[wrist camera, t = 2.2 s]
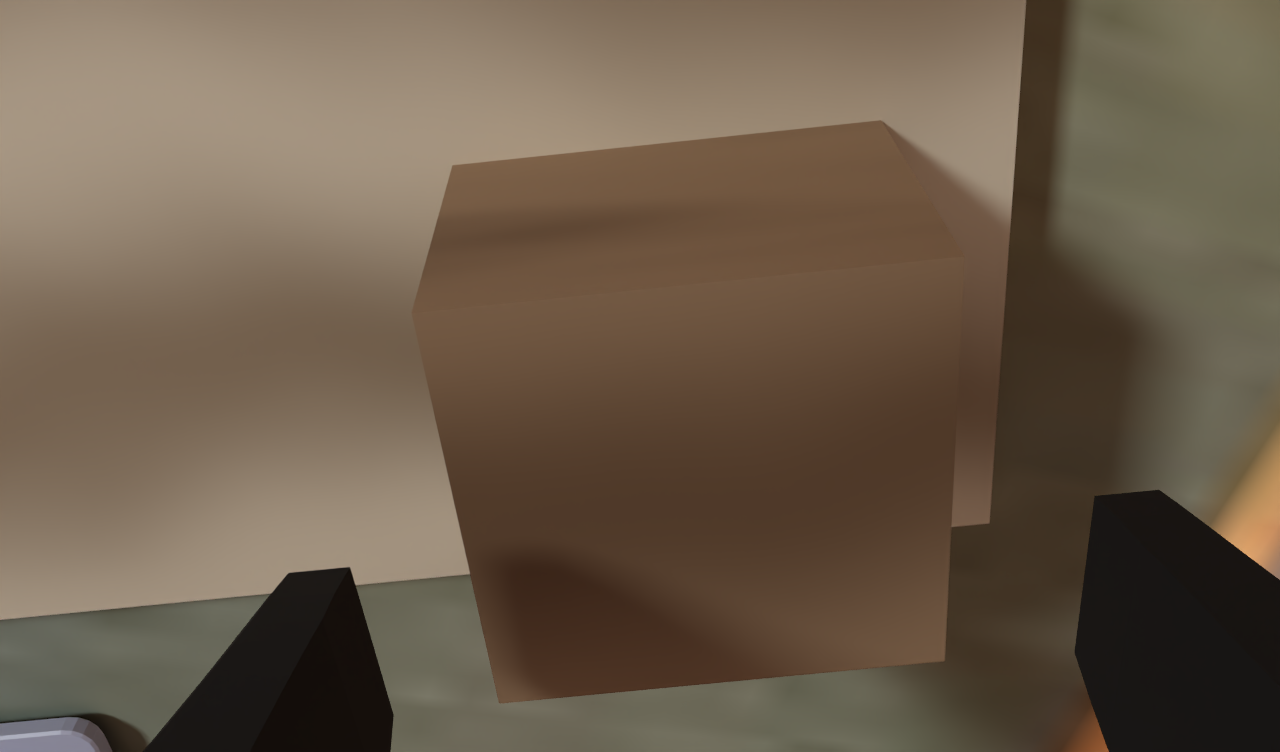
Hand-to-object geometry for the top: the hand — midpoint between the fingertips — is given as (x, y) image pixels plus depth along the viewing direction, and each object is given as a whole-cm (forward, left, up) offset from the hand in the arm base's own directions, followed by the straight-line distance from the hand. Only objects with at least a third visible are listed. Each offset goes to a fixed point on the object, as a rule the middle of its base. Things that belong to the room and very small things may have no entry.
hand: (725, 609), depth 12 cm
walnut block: (0, 0, -6) cm, 6 cm away
